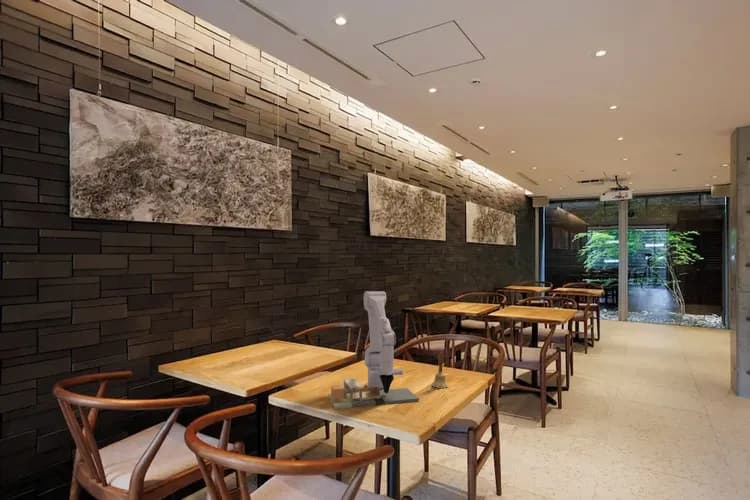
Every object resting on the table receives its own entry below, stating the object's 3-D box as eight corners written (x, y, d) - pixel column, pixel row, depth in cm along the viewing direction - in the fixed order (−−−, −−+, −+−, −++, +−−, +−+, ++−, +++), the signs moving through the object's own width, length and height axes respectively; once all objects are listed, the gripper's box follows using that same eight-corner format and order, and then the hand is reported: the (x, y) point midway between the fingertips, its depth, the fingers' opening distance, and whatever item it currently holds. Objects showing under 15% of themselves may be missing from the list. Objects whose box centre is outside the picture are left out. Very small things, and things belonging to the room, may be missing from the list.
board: (406, 390, 192) (406, 388, 192) (418, 401, 178) (418, 398, 178) (328, 397, 181) (328, 394, 181) (334, 408, 168) (334, 405, 168)
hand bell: (450, 384, 202) (450, 350, 202) (447, 389, 194) (447, 354, 195) (432, 382, 205) (433, 349, 205) (429, 387, 197) (430, 353, 197)
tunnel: (354, 392, 183) (355, 378, 183) (362, 402, 172) (362, 387, 172) (343, 393, 182) (343, 379, 182) (350, 403, 170) (350, 388, 170)
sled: (375, 392, 184) (375, 384, 184) (380, 398, 177) (380, 389, 177) (330, 396, 178) (330, 387, 178) (333, 402, 171) (333, 393, 171)
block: (341, 394, 178) (341, 385, 178) (344, 398, 174) (344, 388, 174) (331, 395, 177) (331, 385, 177) (333, 399, 172) (333, 389, 172)
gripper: (373, 363, 176) (372, 396, 175) (405, 362, 180) (405, 394, 179) (368, 359, 182) (367, 391, 182) (400, 358, 186) (399, 388, 186)
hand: (386, 392), depth 181 cm, fingers closed
